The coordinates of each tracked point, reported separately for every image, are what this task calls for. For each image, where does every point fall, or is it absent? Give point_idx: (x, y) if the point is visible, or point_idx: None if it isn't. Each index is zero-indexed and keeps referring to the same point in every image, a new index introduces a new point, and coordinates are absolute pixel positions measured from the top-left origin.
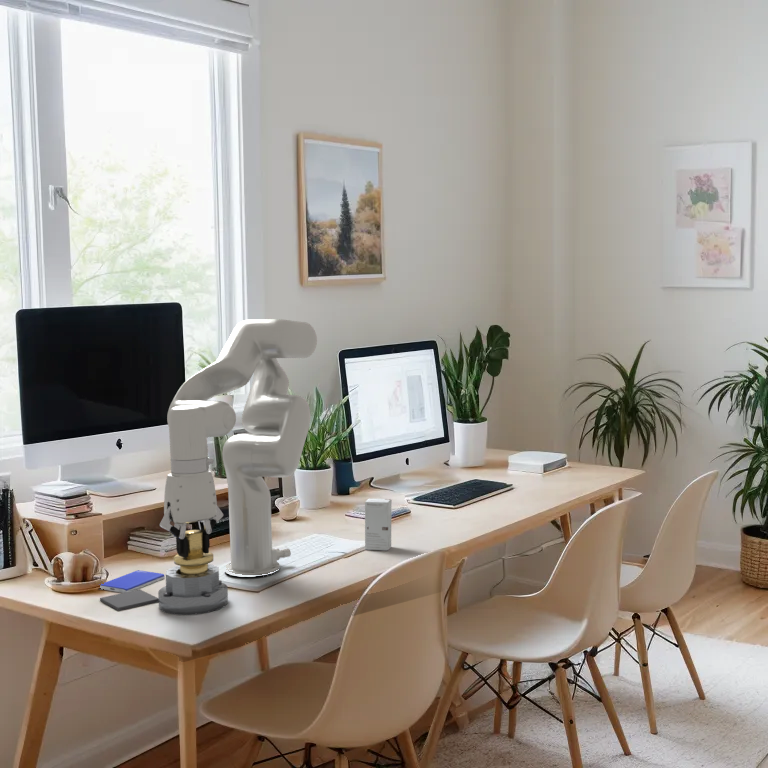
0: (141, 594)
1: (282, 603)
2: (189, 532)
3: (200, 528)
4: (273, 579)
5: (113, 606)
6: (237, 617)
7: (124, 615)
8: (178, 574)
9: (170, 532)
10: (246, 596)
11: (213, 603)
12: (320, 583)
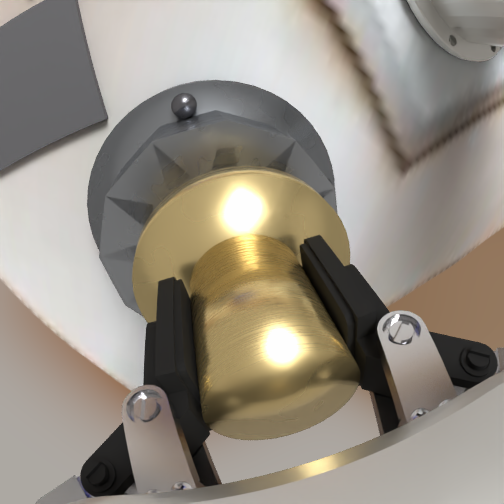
0: (61, 48)
1: (394, 277)
2: (260, 405)
3: (380, 354)
4: (467, 92)
5: None
6: None
7: (12, 220)
8: None
9: (101, 446)
10: (367, 191)
11: None
12: (499, 185)
